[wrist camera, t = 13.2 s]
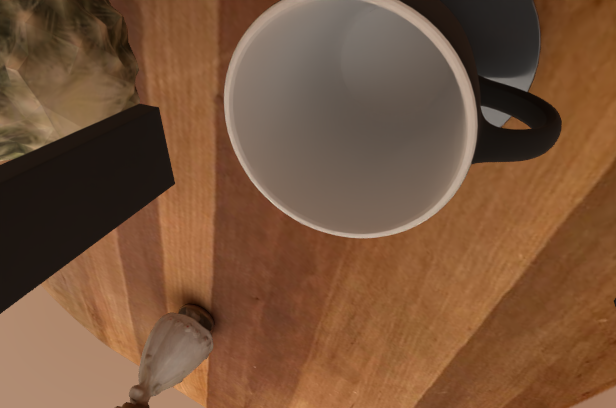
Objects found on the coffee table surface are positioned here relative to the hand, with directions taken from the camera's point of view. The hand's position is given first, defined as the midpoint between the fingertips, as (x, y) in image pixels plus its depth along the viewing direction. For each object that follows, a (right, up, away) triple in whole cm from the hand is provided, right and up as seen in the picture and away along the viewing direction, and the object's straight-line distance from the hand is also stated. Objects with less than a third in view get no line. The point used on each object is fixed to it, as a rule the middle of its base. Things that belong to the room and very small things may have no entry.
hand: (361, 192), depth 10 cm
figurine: (-14, -14, +35) cm, 40 cm away
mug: (+5, +7, +10) cm, 13 cm away
